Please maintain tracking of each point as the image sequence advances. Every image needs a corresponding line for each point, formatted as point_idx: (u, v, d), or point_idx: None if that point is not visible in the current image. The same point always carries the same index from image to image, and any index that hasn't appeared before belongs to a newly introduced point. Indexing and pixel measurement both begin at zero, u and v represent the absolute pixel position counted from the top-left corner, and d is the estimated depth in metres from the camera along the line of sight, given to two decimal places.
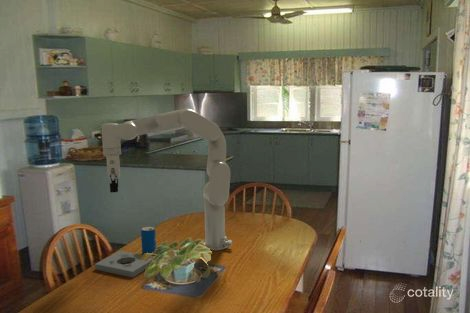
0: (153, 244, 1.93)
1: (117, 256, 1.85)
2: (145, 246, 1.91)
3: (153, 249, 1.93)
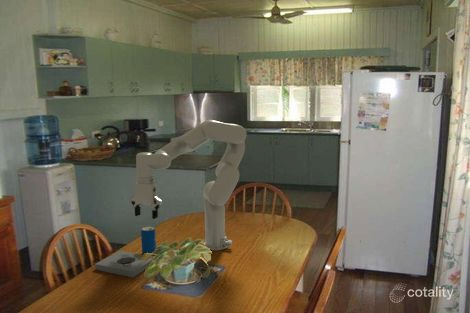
0: (153, 244, 1.93)
1: (117, 256, 1.85)
2: (145, 246, 1.91)
3: (153, 249, 1.93)
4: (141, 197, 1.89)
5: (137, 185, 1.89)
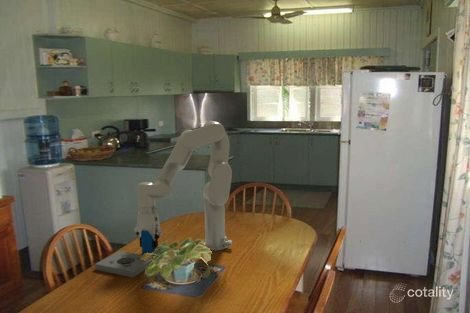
0: None
1: (117, 256, 1.85)
2: (145, 246, 1.91)
3: (153, 249, 1.93)
4: (143, 226, 1.91)
5: (139, 214, 1.92)
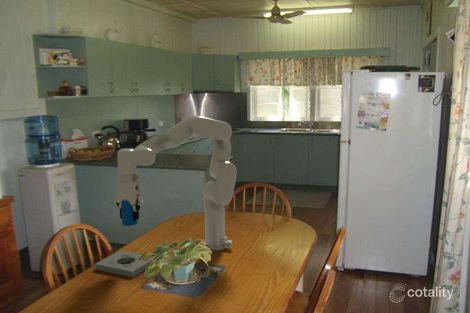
0: None
1: (117, 256, 1.85)
2: (125, 217, 1.78)
3: (134, 221, 1.80)
4: (123, 196, 1.78)
5: (119, 183, 1.78)
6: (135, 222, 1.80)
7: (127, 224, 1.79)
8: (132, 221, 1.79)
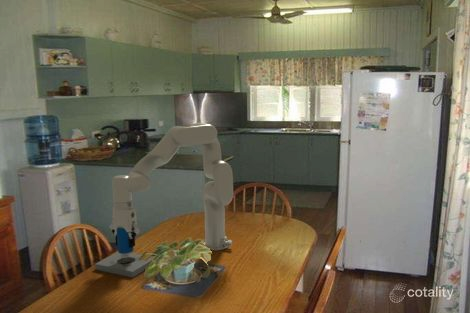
0: None
1: (117, 256, 1.85)
2: (121, 245, 1.76)
3: (130, 248, 1.78)
4: (119, 223, 1.76)
5: (114, 210, 1.76)
6: (131, 249, 1.78)
7: (123, 252, 1.77)
8: (128, 248, 1.77)
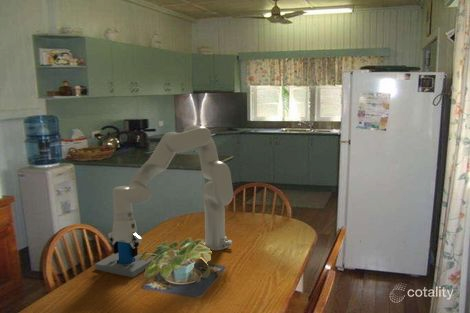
0: (131, 256, 1.78)
1: (117, 256, 1.85)
2: (122, 259, 1.77)
3: (131, 262, 1.79)
4: (119, 234, 1.77)
5: (115, 221, 1.77)
6: None
7: None
8: (129, 262, 1.78)
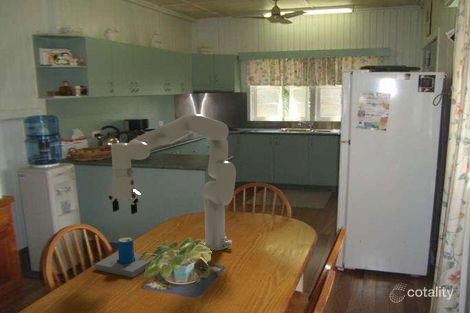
0: (131, 256, 1.78)
1: (117, 256, 1.85)
2: (122, 259, 1.77)
3: (131, 262, 1.79)
4: (118, 191, 1.75)
5: (114, 178, 1.76)
6: None
7: None
8: (129, 262, 1.78)
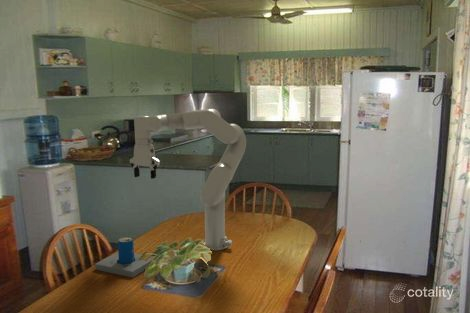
0: (131, 256, 1.78)
1: (117, 256, 1.85)
2: (122, 259, 1.77)
3: (131, 262, 1.79)
4: (140, 158, 1.99)
5: (136, 147, 1.99)
6: None
7: None
8: (129, 262, 1.78)
